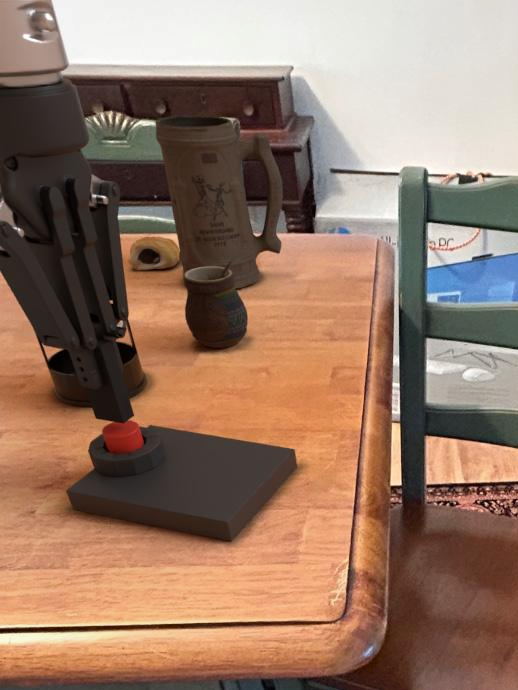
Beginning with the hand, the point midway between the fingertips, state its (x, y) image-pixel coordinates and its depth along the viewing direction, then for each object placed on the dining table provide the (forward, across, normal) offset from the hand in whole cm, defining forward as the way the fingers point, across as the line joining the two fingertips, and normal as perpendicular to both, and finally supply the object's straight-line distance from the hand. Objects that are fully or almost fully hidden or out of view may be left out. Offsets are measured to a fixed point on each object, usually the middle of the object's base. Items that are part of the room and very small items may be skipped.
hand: (115, 416), depth 62 cm
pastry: (+7, +54, +33) cm, 64 cm away
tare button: (+3, 0, 0) cm, 3 cm away
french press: (+6, +14, +14) cm, 21 cm away
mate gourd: (+6, +30, +8) cm, 32 cm away
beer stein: (+6, +52, +18) cm, 55 cm away
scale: (+6, 0, -6) cm, 8 cm away
